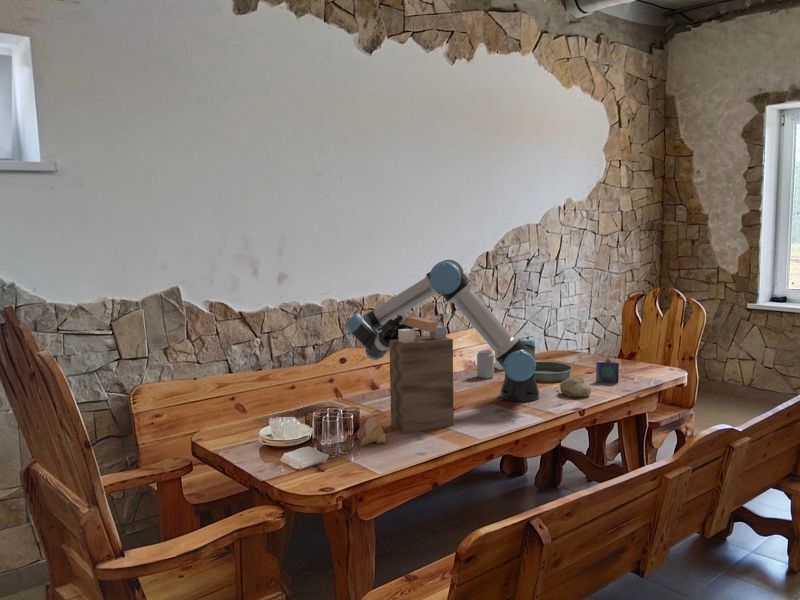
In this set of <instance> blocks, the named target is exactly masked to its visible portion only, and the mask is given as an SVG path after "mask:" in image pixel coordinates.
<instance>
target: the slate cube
mask: <svg viewBox="0 0 800 600" xmlns="http://www.w3.org/2000/svg"><path fill="white" fill-rule="evenodd" d="M429 336H430V338H431V339H435V340H439V339H446V337H447V327H446V326H443V325H437V331H431V332H429Z"/></svg>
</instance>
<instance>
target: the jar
mask: <svg viewBox="0 0 800 600" xmlns="http://www.w3.org/2000/svg"><path fill="white" fill-rule="evenodd" d="M494 369H497V370H498V371H504V369H503V367H502V366H501V365H500V364H499V362H498V361H497V360H496V359H495V358H494Z"/></svg>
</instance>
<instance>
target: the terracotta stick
mask: <svg viewBox="0 0 800 600" xmlns="http://www.w3.org/2000/svg"><path fill="white" fill-rule="evenodd" d="M400 315H401V314H397V317H398V316H400ZM408 316H409V317H408V318H407V319H406V320H405V321H404V322H403V323H402V324H404V325H407V326H411V327H414V328H413V329H418V330H422V331H425V332H429V333H430V332H431V331H437V326H438V322H437V321H435V320H431V319H426V318H424V317H419V316H418V317H416V316H412V315H409V314H408ZM397 317H396V318H397Z"/></svg>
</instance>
